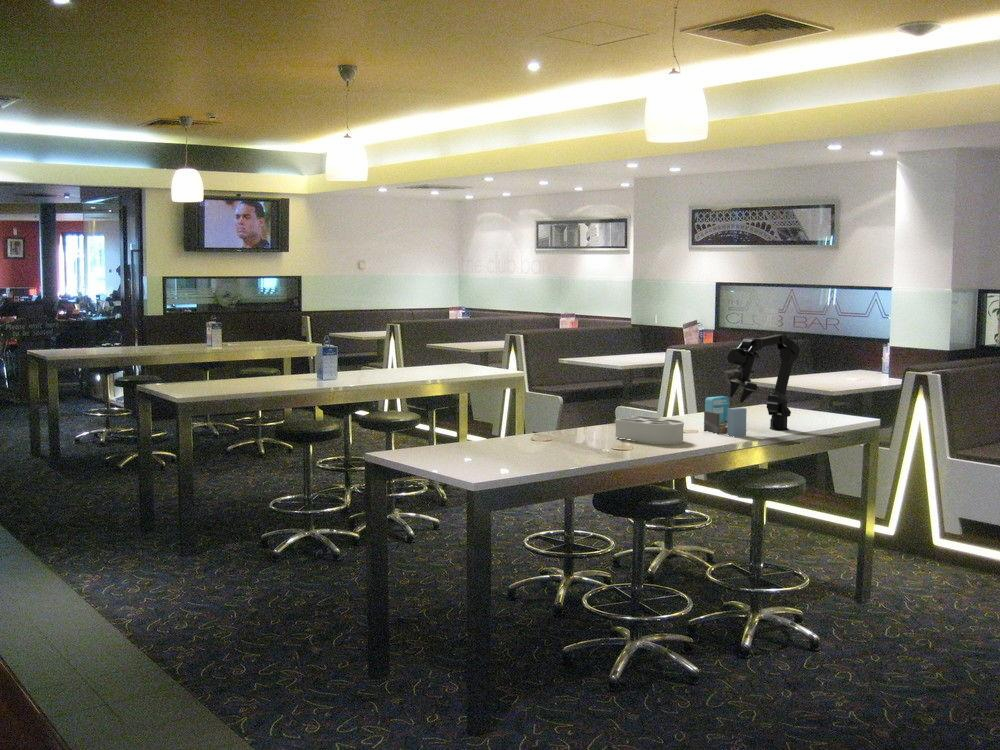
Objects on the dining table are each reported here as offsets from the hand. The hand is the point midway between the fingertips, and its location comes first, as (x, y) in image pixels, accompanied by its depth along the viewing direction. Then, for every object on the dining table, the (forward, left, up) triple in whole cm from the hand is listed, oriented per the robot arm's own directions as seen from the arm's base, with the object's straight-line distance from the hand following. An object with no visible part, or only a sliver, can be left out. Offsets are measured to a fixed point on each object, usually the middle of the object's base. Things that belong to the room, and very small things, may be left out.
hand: (735, 399), depth 447 cm
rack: (+5, -5, -15) cm, 16 cm away
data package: (-5, -33, -15) cm, 37 cm away
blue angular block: (+3, +7, -15) cm, 17 cm away
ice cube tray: (+42, +10, -15) cm, 46 cm away
